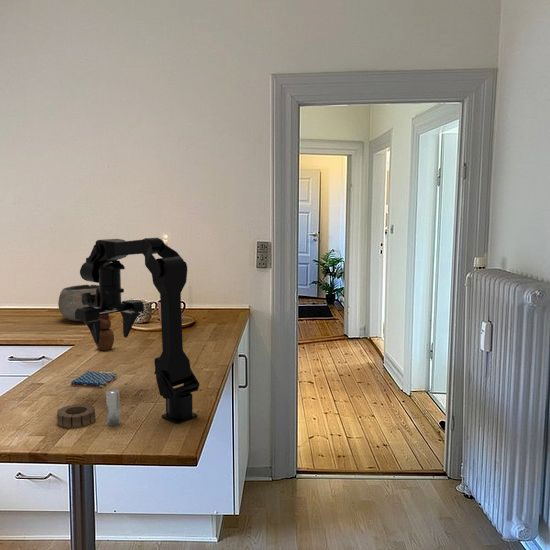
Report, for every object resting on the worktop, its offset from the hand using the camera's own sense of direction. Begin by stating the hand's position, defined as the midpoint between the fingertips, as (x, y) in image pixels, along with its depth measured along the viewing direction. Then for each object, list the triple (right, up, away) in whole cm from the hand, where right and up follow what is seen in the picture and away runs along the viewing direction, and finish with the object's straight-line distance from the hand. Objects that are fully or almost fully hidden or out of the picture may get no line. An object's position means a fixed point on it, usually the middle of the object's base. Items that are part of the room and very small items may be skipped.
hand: (111, 340), depth 154 cm
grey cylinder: (+6, -18, -20) cm, 27 cm away
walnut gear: (-3, -17, -19) cm, 26 cm away
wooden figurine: (-15, -9, +44) cm, 48 cm away
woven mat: (-8, -14, +10) cm, 19 cm away
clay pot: (-38, -2, +90) cm, 98 cm away
